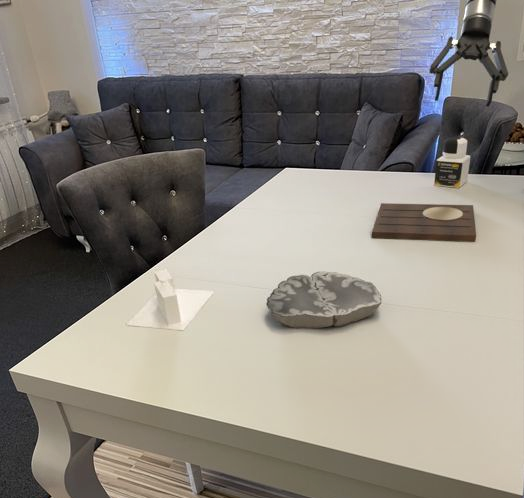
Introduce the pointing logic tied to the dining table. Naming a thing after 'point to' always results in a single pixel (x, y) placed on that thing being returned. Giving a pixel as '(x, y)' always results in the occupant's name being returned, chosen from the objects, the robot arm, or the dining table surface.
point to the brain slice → (323, 300)
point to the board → (425, 222)
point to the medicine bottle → (453, 164)
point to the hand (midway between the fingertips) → (462, 101)
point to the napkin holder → (170, 305)
